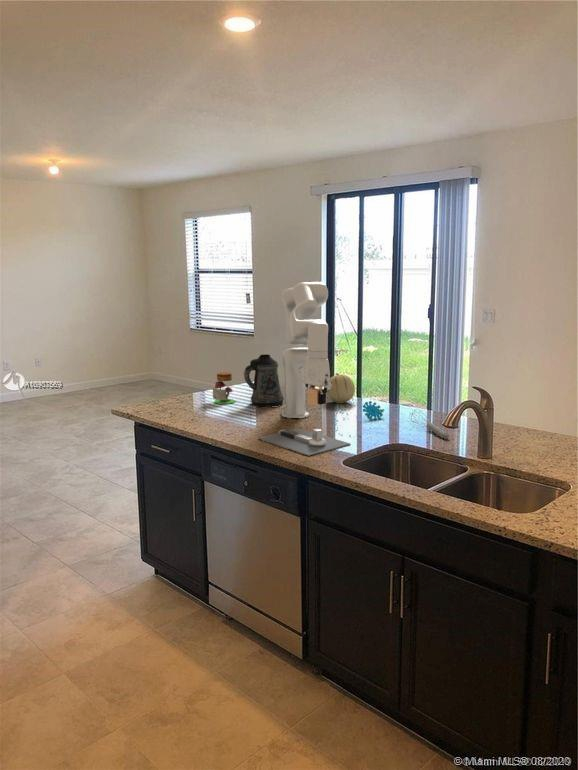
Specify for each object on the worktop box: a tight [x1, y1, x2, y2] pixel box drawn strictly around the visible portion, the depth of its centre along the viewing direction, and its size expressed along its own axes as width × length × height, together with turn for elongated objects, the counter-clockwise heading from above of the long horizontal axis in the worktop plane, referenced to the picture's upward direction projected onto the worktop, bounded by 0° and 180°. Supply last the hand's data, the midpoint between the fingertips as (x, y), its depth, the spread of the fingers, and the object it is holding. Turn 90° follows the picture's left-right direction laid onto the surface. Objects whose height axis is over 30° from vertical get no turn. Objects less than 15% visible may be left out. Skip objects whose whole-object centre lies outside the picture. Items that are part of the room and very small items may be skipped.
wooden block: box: [307, 386, 328, 407], centre depth 225 cm, size 5×5×6 cm
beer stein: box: [243, 354, 285, 408], centre depth 297 cm, size 16×19×25 cm
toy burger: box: [211, 371, 236, 405], centre depth 305 cm, size 12×13×15 cm
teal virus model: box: [362, 400, 385, 421], centre depth 272 cm, size 11×6×10 cm
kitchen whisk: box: [408, 408, 450, 440], centre depth 252 cm, size 6×34×6 cm, turn 14°
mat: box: [257, 428, 351, 457], centre depth 235 cm, size 30×22×1 cm
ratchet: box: [278, 428, 326, 447], centre depth 235 cm, size 24×6×6 cm, turn 41°
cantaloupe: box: [326, 373, 356, 404], centre depth 302 cm, size 15×15×15 cm
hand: (317, 402), depth 226 cm, fingers closed on wooden block, 5 cm apart
